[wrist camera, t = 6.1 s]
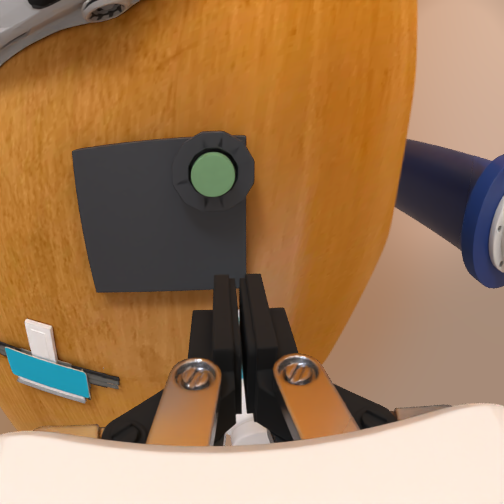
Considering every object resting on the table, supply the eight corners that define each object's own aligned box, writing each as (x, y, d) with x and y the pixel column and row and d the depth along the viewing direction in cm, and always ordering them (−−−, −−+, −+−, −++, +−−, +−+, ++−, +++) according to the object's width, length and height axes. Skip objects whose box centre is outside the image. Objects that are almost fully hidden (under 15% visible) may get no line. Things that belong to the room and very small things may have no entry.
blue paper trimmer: (118, 342, 31) (114, 352, 29) (120, 405, 35) (118, 414, 34) (-22, 301, 26) (-28, 308, 25) (-2, 367, 31) (-6, 374, 29)
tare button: (233, 151, 21) (235, 153, 20) (234, 191, 23) (235, 196, 21) (191, 152, 21) (189, 155, 20) (193, 193, 22) (191, 198, 21)
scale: (250, 129, 23) (254, 131, 21) (249, 279, 29) (253, 297, 26) (78, 143, 22) (62, 148, 19) (100, 285, 28) (91, 302, 25)
